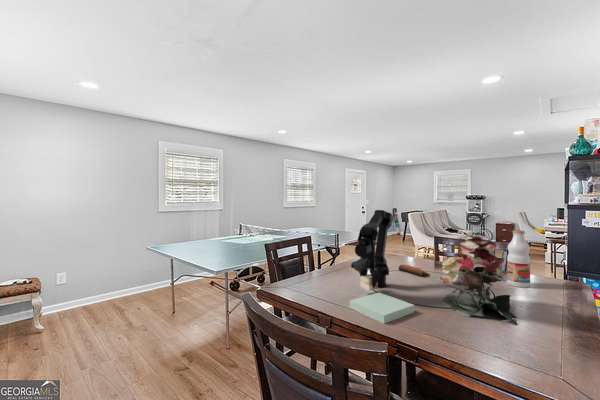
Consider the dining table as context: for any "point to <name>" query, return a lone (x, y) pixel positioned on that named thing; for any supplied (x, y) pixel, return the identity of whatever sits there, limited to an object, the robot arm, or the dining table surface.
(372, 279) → the robot arm
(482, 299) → the rose bouquet
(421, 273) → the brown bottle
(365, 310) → the platform
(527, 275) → the fruit juice
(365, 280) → the maple cube
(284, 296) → the dining table surface
